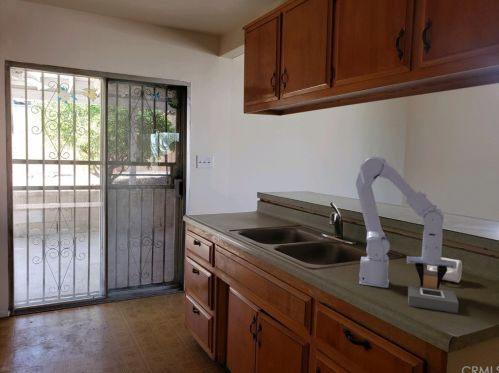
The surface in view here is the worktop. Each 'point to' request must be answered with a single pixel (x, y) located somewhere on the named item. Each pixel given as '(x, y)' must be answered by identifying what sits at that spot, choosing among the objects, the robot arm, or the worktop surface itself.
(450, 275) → the mug
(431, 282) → the plug
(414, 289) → the socket block
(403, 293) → the worktop surface
